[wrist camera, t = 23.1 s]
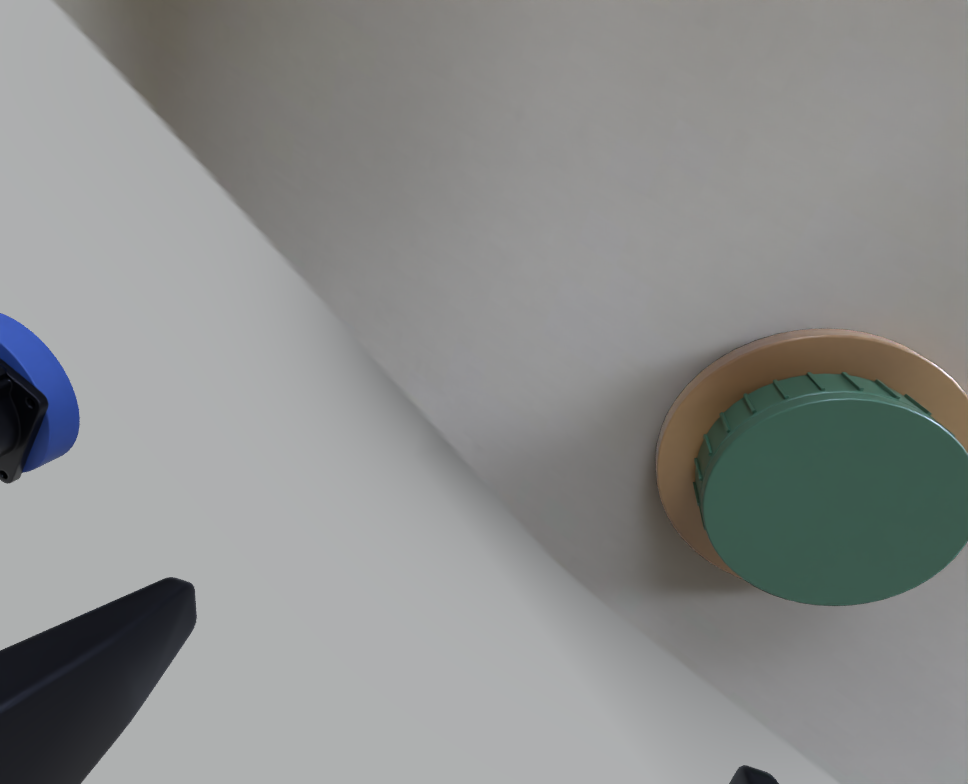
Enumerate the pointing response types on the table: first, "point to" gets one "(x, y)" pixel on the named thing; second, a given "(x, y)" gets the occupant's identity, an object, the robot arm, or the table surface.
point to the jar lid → (832, 490)
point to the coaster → (780, 362)
